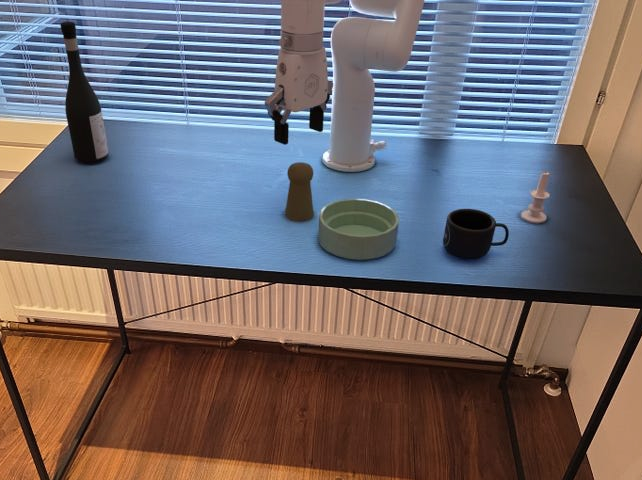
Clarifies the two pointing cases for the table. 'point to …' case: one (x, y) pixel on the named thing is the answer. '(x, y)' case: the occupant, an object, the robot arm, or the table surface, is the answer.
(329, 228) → the bowl
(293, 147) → the table surface
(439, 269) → the table surface
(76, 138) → the wine bottle
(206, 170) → the table surface
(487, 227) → the mug
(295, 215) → the brown rounded tall piece
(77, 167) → the table surface
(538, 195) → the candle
